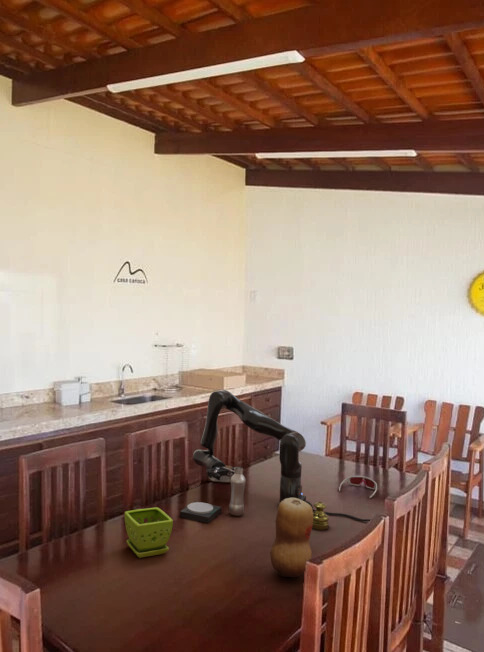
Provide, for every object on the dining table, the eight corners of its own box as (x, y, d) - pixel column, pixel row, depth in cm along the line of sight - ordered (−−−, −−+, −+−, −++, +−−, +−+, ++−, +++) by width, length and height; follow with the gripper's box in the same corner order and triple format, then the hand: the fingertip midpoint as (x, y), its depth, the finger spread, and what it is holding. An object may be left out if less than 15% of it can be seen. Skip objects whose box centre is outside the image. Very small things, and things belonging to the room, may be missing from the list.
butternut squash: (301, 590, 169) (305, 511, 168) (263, 577, 176) (266, 501, 175) (316, 572, 180) (320, 499, 180) (279, 561, 187) (282, 490, 187)
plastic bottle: (227, 511, 232) (229, 465, 232) (242, 511, 233) (245, 466, 232) (229, 517, 226) (231, 470, 225) (245, 517, 226) (247, 470, 226)
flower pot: (135, 562, 182) (137, 525, 182) (121, 545, 195) (123, 511, 194) (173, 555, 189) (174, 519, 189) (157, 539, 201) (158, 506, 201)
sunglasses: (381, 489, 271) (381, 479, 270) (372, 504, 257) (372, 494, 256) (347, 482, 280) (347, 473, 279) (336, 496, 266) (336, 486, 265)
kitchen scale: (221, 512, 231) (221, 505, 231) (208, 523, 219) (208, 515, 218) (194, 506, 237) (194, 499, 237) (179, 516, 224) (180, 509, 224)
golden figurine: (328, 531, 215) (329, 506, 215) (309, 529, 217) (310, 504, 217) (327, 524, 223) (329, 500, 222) (309, 522, 224) (310, 498, 224)
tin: (235, 482, 273) (236, 465, 273) (235, 484, 270) (236, 467, 270) (206, 479, 275) (207, 463, 275) (206, 481, 272) (206, 465, 272)
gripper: (201, 459, 252) (213, 469, 236) (229, 458, 256) (243, 468, 241) (200, 475, 252) (213, 486, 237) (228, 473, 257) (242, 484, 241)
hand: (228, 477), depth 239 cm, fingers open, 8 cm apart
